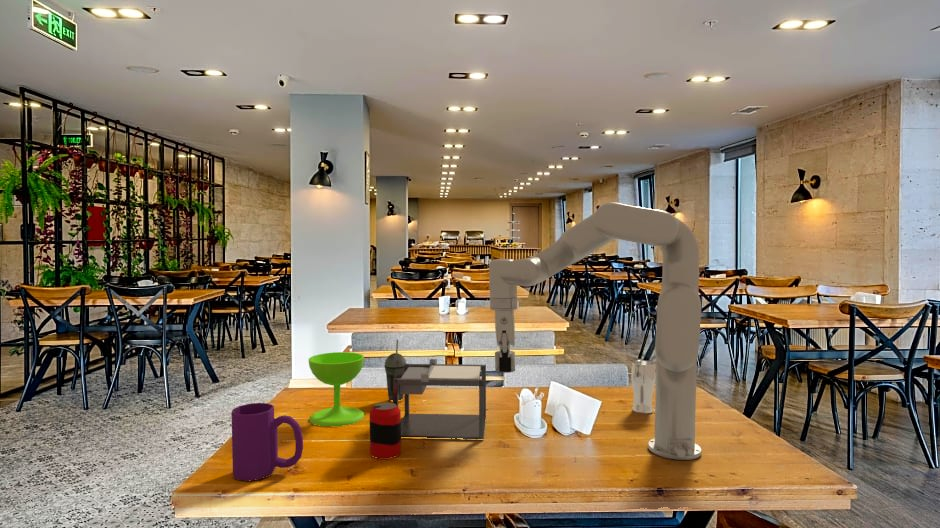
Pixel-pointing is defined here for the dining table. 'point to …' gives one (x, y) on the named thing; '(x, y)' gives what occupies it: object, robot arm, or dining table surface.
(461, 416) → the frame
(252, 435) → the mug
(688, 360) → the robot arm
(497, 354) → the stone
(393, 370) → the beverage cup
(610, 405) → the dining table surface
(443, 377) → the trapdoor
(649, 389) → the beer glass
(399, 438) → the soda can
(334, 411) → the wineglass
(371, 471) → the dining table surface
